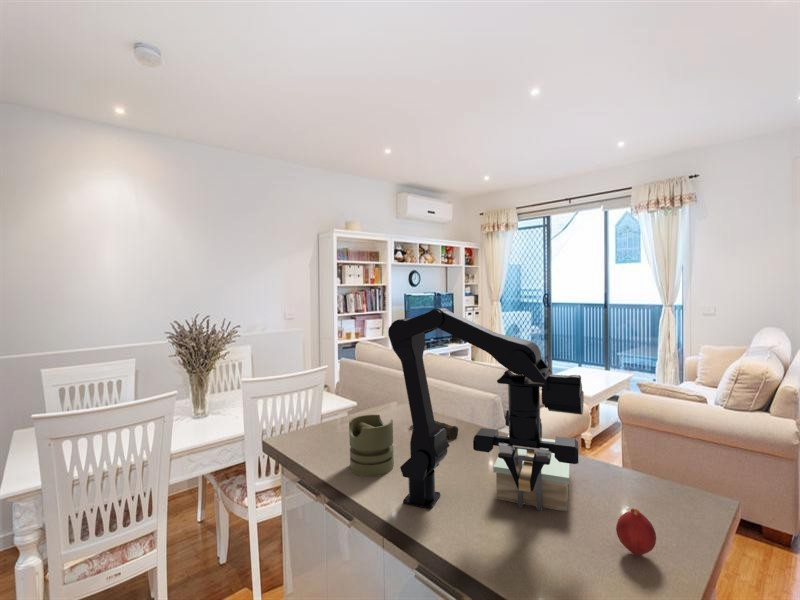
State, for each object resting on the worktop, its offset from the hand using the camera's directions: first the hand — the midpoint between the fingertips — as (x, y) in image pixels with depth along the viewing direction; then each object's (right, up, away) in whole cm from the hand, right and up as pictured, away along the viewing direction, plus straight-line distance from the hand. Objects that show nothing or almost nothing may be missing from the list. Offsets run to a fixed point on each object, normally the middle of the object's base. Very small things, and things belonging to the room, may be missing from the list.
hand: (525, 489), depth 77 cm
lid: (+7, -2, +16) cm, 18 cm away
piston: (-31, -8, +28) cm, 43 cm away
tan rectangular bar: (+2, +1, +5) cm, 5 cm away
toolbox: (+7, -7, +17) cm, 19 cm away
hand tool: (-14, -7, +54) cm, 56 cm away
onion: (+16, -7, -9) cm, 19 cm away
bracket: (+3, -7, +6) cm, 10 cm away
